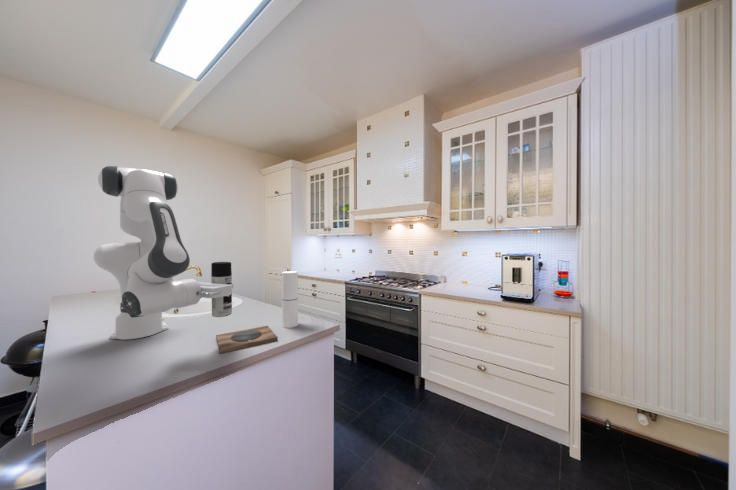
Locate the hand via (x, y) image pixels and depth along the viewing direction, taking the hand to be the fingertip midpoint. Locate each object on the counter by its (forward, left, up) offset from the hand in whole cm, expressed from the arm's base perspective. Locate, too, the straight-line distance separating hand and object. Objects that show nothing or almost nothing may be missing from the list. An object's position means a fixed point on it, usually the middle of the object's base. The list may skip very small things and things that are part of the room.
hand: (223, 285), depth 99 cm
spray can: (0, -1, -11) cm, 11 cm away
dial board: (0, +8, -23) cm, 24 cm away
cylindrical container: (-7, +28, -23) cm, 37 cm away
